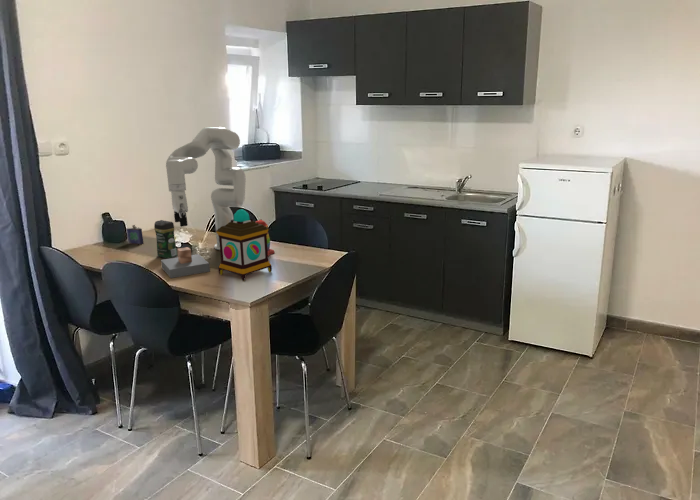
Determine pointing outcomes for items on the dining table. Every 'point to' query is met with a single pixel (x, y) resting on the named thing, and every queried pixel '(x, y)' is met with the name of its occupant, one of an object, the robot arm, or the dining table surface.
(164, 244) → the coffee jar
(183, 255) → the terracotta block
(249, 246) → the decorative lantern
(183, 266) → the gray square slab
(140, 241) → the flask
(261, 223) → the stacking bear
